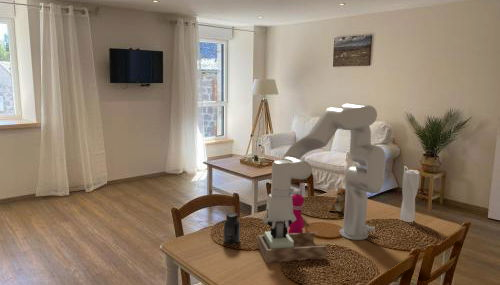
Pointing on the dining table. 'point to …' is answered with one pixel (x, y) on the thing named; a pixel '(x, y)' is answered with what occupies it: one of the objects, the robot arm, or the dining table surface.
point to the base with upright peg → (278, 238)
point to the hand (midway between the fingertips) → (278, 236)
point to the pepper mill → (297, 214)
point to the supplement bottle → (232, 228)
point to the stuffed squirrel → (339, 201)
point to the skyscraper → (409, 195)
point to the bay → (293, 249)
